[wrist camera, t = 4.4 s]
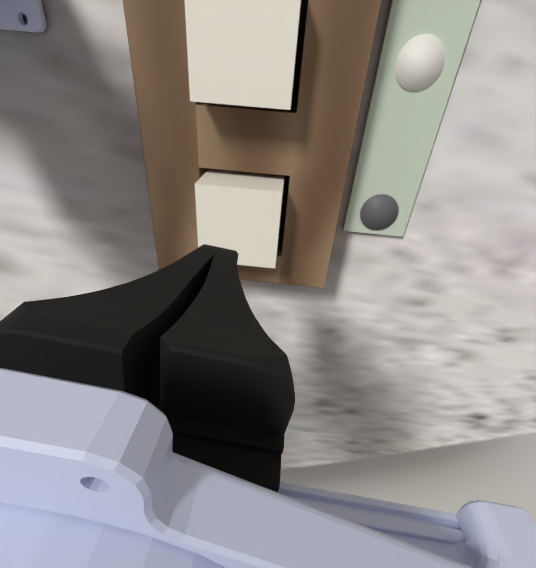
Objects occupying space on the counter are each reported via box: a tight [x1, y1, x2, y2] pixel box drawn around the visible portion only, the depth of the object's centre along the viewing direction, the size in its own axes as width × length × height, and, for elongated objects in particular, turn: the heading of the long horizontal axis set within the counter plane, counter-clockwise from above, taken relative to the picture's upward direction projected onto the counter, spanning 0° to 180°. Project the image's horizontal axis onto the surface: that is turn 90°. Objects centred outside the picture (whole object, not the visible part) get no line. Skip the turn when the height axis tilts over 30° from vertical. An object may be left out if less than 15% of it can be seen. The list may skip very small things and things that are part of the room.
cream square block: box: [195, 168, 285, 268], centre depth 19 cm, size 4×4×3 cm
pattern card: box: [343, 0, 480, 237], centre depth 17 cm, size 4×19×1 cm, turn 176°
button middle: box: [184, 0, 302, 110], centre depth 14 cm, size 4×4×3 cm
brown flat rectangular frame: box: [123, 0, 382, 288], centre depth 16 cm, size 11×25×3 cm, turn 176°
